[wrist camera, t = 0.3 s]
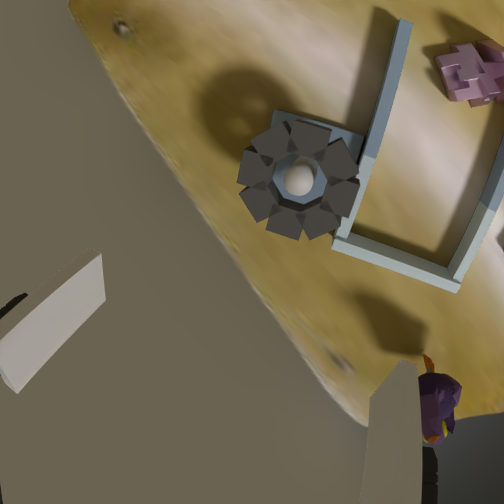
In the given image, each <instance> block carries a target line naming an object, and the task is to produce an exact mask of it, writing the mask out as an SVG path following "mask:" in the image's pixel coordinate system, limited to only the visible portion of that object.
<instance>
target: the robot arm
mask: <svg viewBox="0 0 504 504" xmlns="http://www.w3.org/2000/svg"><path fill="white" fill-rule="evenodd" d="M104 301H106V298H105V290H104V280H103V270H102V257H101V253H100V252H97V251H95V250H93V249H90V248H88V249H87V250H85V251H84V252H83V253H81V254H80V255H78V256H77V257H76V258H74V259H73V260H72V261H71V262H69V263H68V264H67V265H65V266H64V267H63V268H61V269H60V270H59V271H58V272H56V273H55V274H54V275H53V276H51V277H50V278H49V279H48V280H46V281H45V282H44V283H43V284H41V285H40V286H39V287H38V288H37V289H35V290H34V291H33V292H32V293H30V294H29V295H28V294H26V293H24V294H21V295H19V296H17V297H15V298H13V299H12V300H11V301H10V302H9V303H7V304H6V306H4V307H3V308H1V310H0V375H1V377H2V378H3V380H4V382H5V383H6V384H7V385H8V386H9V387H10V388H11V389H12V390H13V391H15V392H16V393H19V391H20V390H21V389H22V388H23V387H24V386H25V385H26V383H27V382H28V381H29V380H30V379H31V378H32V377H33V376H34V374H35V373H36V372H37V371H38V370H39V369H40V368H41V367H42V366H43V365H44V364H45V362H46V361H47V360H48V359H49V358H50V357H51V356H52V355H53V354H54V353H55V352H56V350H58V348H59V347H60V346H61V345H62V344H63V343H64V342H65V341H66V340H67V339H68V338H69V337H70V336H71V335H72V334H73V333H74V332H75V331H76V330H77V329H78V328H79V327H80V326H81V325H82V324H83V322H85V320H87V318H88V317H89V316H90V315H91V314H92V313H93V312H94V311H95V310H96V309H97V308H98V307H99V306H100V305H101V304H102V303H104ZM437 464H438V463H437V458H436V455H435V452H434V450H433V448H430V447H422V425H421V407H420V394H419V383H418V373H417V364H415V363H412V362H408V361H404V360H400V361H399V362H398V364H397V365H396V366H395V368H394V369H393V370H392V372H391V373H390V374H389V375H388V377H387V378H386V379H385V380H384V382H383V383H382V384H381V385H380V387H379V388H378V389H377V390H376V391H375V393H374V394H373V395H372V396H371V397H370V409H369V424H368V437H367V448H366V457H365V466H364V474H363V481H362V489H361V496H360V502H359V504H437V494H438V486H437V482H438V475H437V473H438V465H437ZM0 504H3V502H2V495H1V487H0Z"/></svg>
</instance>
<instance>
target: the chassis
mask: <svg viewBox="0 0 504 504" xmlns="http://www.w3.org/2000/svg"><path fill="white" fill-rule="evenodd" d="M412 25H413V23H412V22H409V21H407V20H404V19H401V18H400V20H399V21H398V23H397V24H396V28H395V33H394V37H393V41H392V46H391V50H390V54H389V58H388V62H387V66H386V70H385V73H384V77H383V81H382V85H381V88H380V92H379V96H378V99H377V103H376V106H375V110H374V113H373V117H372V120H371V123H370V127H369V130H368V133H367V137H366V140H365V143H364V146H363V150H362V153H361V156H360V159H359V162H358V165H357V166H358V168H359V174H357V175H355V176H354V177H355V178H358V179H359V180H360V188H359V191H358V194H357V196H356V199H355V202H354V205H353V208H352V210H351V213H350V216H349V219H348V218H345V217H342V216H341V227H339V228H337V229H335V232H334V235H333V239H332V246H331V249H333V250H336V251H338V252H341V253H344V254H347V255H350V256H353V257H356V258H359V259H362V260H364V261H367V262H370V263H373V264H376V265H379V266H382V267H384V268H387V269H390V270H393V271H396V272H398V273H401V274H404V275H407V276H410V277H412V278H415V279H418V280H421V281H423V282H426V283H429V284H431V285H434V286H437V287H440V288H442V289H445V290H448V291H450V292H453V293H457V291H458V290H459V288H460V286H461V283H460V282H461V280H462V279H463V277H464V275H465V273H466V271H467V270H468V268H469V266H470V264H471V262H472V261H473V259H474V257H475V255H476V253H477V251H478V249H479V247H480V245H481V243H482V241H483V239H484V237H485V235H486V233H487V231H488V229H489V227H490V225H491V222H492V220H493V218H494V216H495V214H496V211H497V209H498V207H499V205H500V202H501V200H502V197H503V195H504V134H503V137H502V140H501V144H500V147H499V150H498V153H497V156H496V159H495V161H494V164H493V167H492V170H491V172H490V175H489V178H488V180H487V183H486V185H485V188H484V190H483V193H482V195H481V198H480V200H479V202H478V205H477V207H476V209H475V212H474V214H473V216H472V218H471V221H470V223H469V225H468V227H467V229H466V231H465V233H464V236H463V238H462V240H461V242H460V244H459V246H458V248H457V250H456V252H455V254H454V256H453V257H452V259H451V261H450V263H449V265H448V267H447V268H446V267H443V266H441V265H438V264H436V263H433V262H431V261H428V260H425V259H423V258H420V257H418V256H415V255H412V254H410V253H407V252H404V251H402V250H399V249H396V248H394V247H391V246H388V245H385V244H383V243H380V242H377V241H374V240H372V239H369V238H366V237H363V236H360V235H358V234H355V233H352V232H350V230H351V227H352V224H353V222H354V219H355V216H356V214H357V211H358V208H359V205H360V203H361V200H362V197H363V194H364V192H365V189H366V186H367V183H368V180H369V177H370V174H371V171H372V169H373V166H374V163H375V160H376V156H377V153H378V150H379V147H380V144H381V141H382V138H383V135H384V131H385V128H386V125H387V122H388V118H389V115H390V111H391V108H392V105H393V101H394V97H395V94H396V90H397V87H398V83H399V79H400V75H401V72H402V68H403V64H404V60H405V56H406V52H407V47H408V43H409V39H410V34H411V30H412ZM296 119H300V120H304V121H308V122H311V123H314V124H318V125H321V126H324V127H328V128H331V129H332V132H331V136H330V139H329V143H330V142H332V141H334V140H336V139H338V138H340V137H342V138H343V140H344V142H345V143H346V145H347V147H348V149H349V151H350V153H351V154H352V156H353V158H354V160H355V162H356V161H357V158H358V155H359V152H360V149H361V146H362V142H363V139H364V136H363V135H361V134H358V133H355V132H352V131H349V130H346V129H343V128H340V127H337V126H333V125H330V124H327V123H324V122H320V121H317V120H314V119H310V118H307V117H303V116H299V115H296V114H292V113H288V112H285V111H281V110H277V109H276V110H274V113H273V117H272V121H271V125H270V128H272V127H273V126H275V125H277V124H279V123H280V122H282V121H285V120H286V121H287V122H288V124H289V125H290V127H291V129H292V126H293V122H294V120H296ZM273 181H274V183H275V184H276V186H277V188H278V189H279V191H280V193H281V194H282V196H283V198H286V199H289V200H292V201H295V202H298V203H302V204H305V203H308V202H310V201H312V200H314V199H316V198H318V197H320V196H322V195H323V193H324V190H325V187H326V184H327V179H326V177H325V175H324V174H323V172H322V170H321V168H320V166H319V165H318V163H317V161H316V160H314V159H311V158H308V157H304V156H301V155H298V154H294V153H292V154H290V155H288V156H286V157H284V158H282V159H280V160H279V161H277V163H276V167H275V171H274V175H273Z"/></svg>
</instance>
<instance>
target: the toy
mask: <svg viewBox="0 0 504 504" xmlns="http://www.w3.org/2000/svg"><path fill="white" fill-rule="evenodd" d="M423 356H424V362H425V366H426V369H427V372H426V373H425V374H423V375H421V376H419V377H418V383H419V394H420V407H421V425H422V438H423V440H424V441H425V442H427V443H429V444H431V445H436V444H439V443H441V442H442V441H443V439H444V438H445V437H446V435H447V430H448V431H449V432H451V433H453V429H454V425H455V421H454V410H453V409H454V407H456V406H457V405H458V402H459V399H460V394H461V389H462V386H461V385H460V384H459V383H458V382H457V381H456V380H454V379H453V378H452V377H450V376H449V375H446V374H439V373H434V364H433V363H432V362H431V361H430V358H429V357H427V356H426V355H425V354H424V355H423Z"/></svg>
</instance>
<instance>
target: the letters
mask: <svg viewBox="0 0 504 504" xmlns="http://www.w3.org/2000/svg"><path fill="white" fill-rule="evenodd" d="M476 43H477V45H478V48H479V50H480V53H481V56H482V59H483V60H482V59H481V57H480V55H479V54H478V52H477V51H476V49H475V48H474V46H473V45H472V43H469V42H464V43H457V44H451V45H450V47H451V50H452V52H453V53H452V54H446V55H441V56H437V57H434V58H435V61H436V63H437V66H438V69H439V71H440V74H441V77H442V80H443V83H444V85H445V88H446V91H447V94H448V98H449V101H455V102H459V101H464V100H469V102H470V105H471V108H472V107H477V106H482V105H487V104H489V103H490V102H491V101H492V100H493V99H494V98H495V99H496V103H498V102H503V101H504V47H502V46H501V45H500V44H498V43H497V42H495V41H494V40H493V39H487V40H479V41H476Z"/></svg>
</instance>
